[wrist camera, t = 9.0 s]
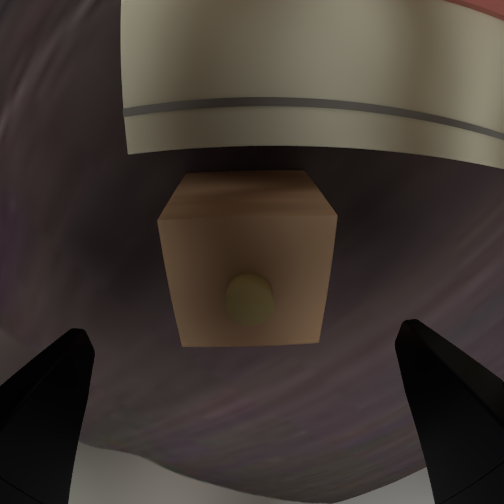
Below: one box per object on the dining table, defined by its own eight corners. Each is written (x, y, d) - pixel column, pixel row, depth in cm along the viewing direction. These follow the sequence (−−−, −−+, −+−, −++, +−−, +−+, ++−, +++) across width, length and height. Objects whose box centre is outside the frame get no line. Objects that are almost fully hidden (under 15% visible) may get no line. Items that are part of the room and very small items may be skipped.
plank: (537, 26, 7) (564, 27, 5) (533, 169, 12) (559, 183, 10) (146, -60, 7) (129, -83, 5) (147, 142, 12) (127, 155, 9)
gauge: (303, 169, 13) (346, 228, 8) (298, 269, 15) (322, 358, 10) (186, 172, 13) (149, 233, 8) (196, 271, 15) (179, 363, 10)
